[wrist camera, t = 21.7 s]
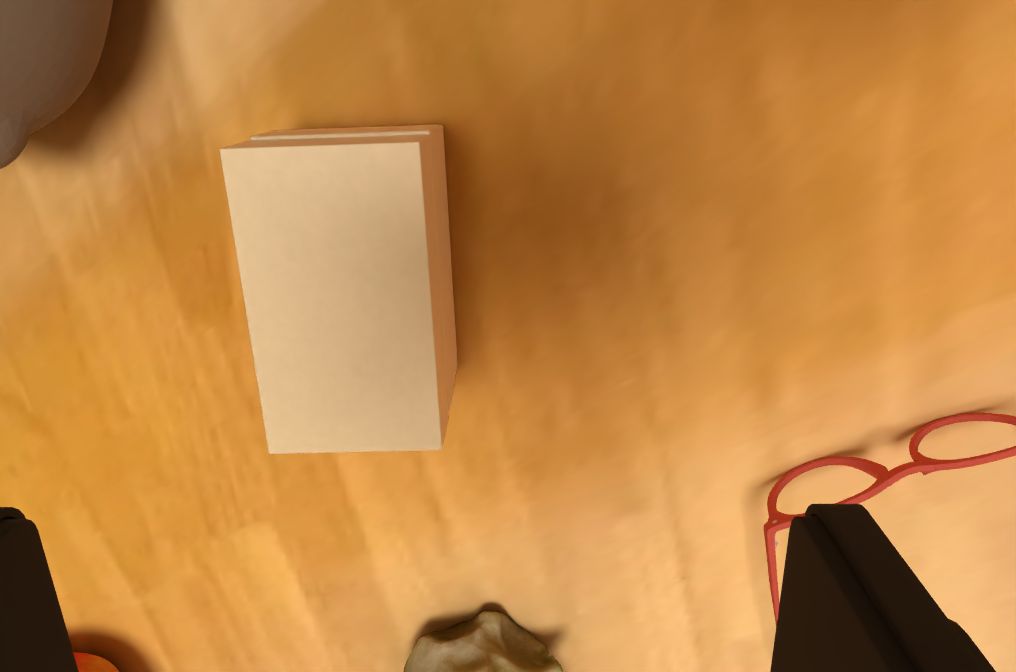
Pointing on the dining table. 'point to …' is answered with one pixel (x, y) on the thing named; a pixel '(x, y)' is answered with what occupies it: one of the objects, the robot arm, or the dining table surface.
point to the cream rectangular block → (341, 290)
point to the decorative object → (45, 63)
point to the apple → (93, 663)
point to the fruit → (481, 648)
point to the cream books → (440, 215)
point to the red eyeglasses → (883, 480)
